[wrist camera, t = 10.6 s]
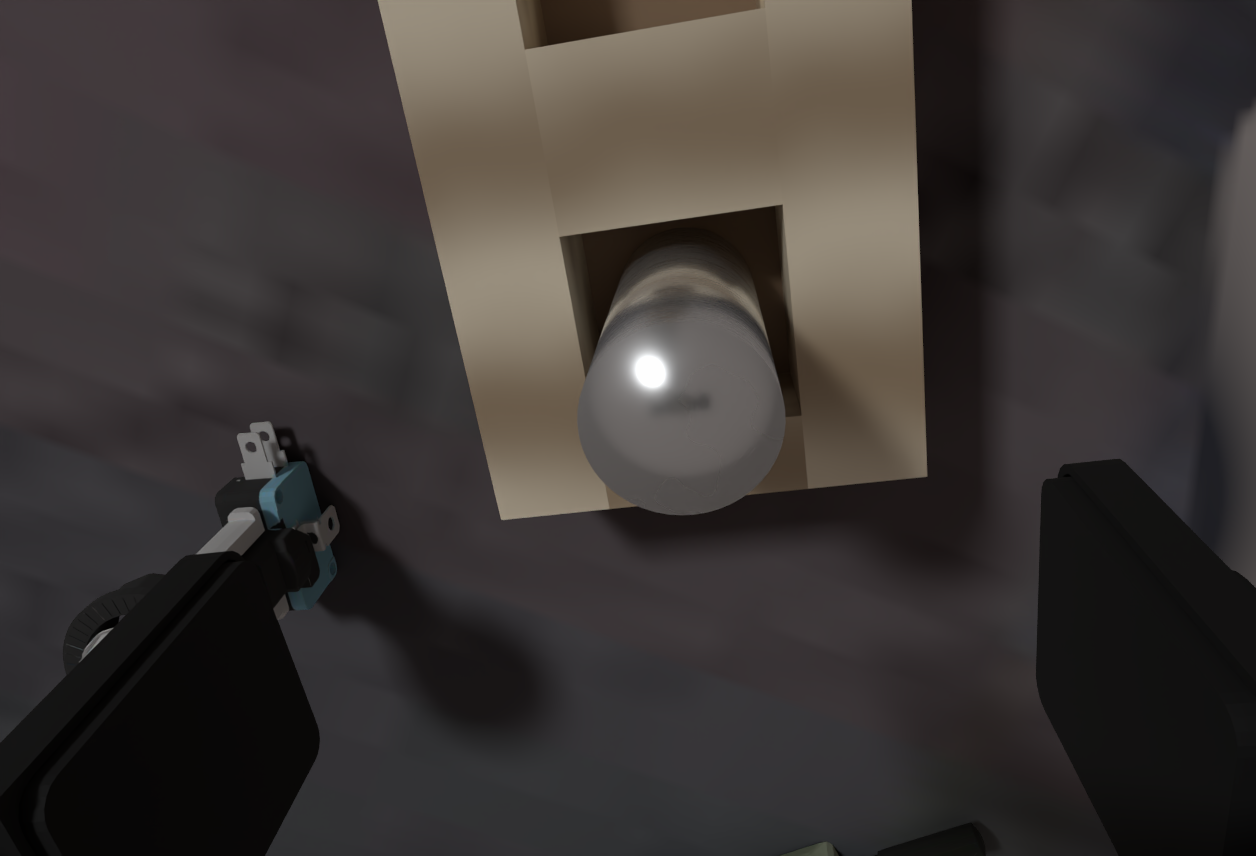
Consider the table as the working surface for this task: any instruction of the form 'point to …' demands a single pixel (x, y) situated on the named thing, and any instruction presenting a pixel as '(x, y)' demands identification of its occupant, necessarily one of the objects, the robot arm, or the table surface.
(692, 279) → the pin
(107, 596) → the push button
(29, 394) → the table surface
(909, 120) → the socket block
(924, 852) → the handheld radio
